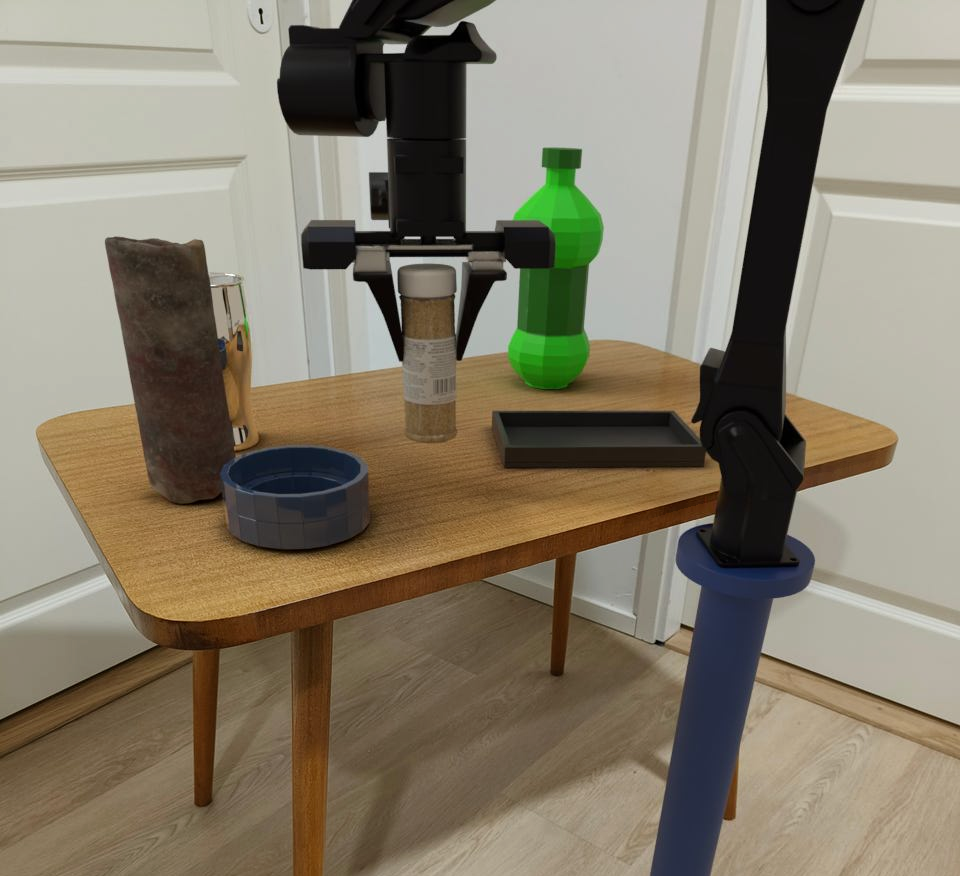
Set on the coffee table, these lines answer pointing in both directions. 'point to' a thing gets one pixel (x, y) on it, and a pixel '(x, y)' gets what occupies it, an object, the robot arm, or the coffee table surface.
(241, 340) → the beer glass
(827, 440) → the coffee table surface
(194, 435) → the brown stone pillar
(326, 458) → the bowl
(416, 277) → the sprinkles bottle
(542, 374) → the plastic bottle
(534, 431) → the tray
